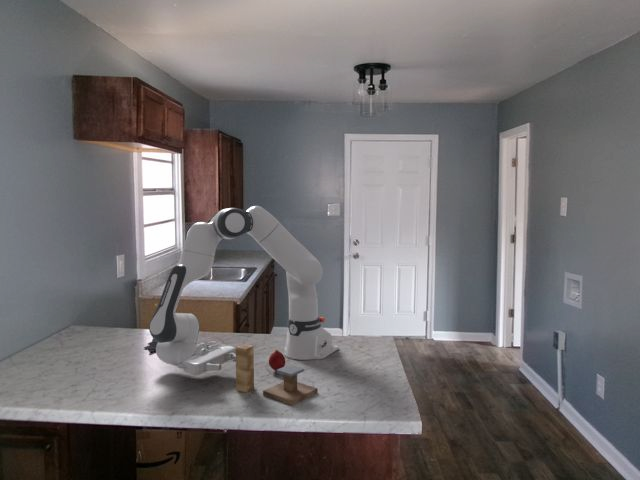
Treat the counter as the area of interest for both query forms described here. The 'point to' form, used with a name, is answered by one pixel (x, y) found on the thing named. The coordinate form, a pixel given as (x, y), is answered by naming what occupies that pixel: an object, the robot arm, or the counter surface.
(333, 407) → the counter surface
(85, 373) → the counter surface
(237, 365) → the wooden rod
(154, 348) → the decorative bat
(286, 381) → the pedestal
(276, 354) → the onion
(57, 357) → the counter surface
